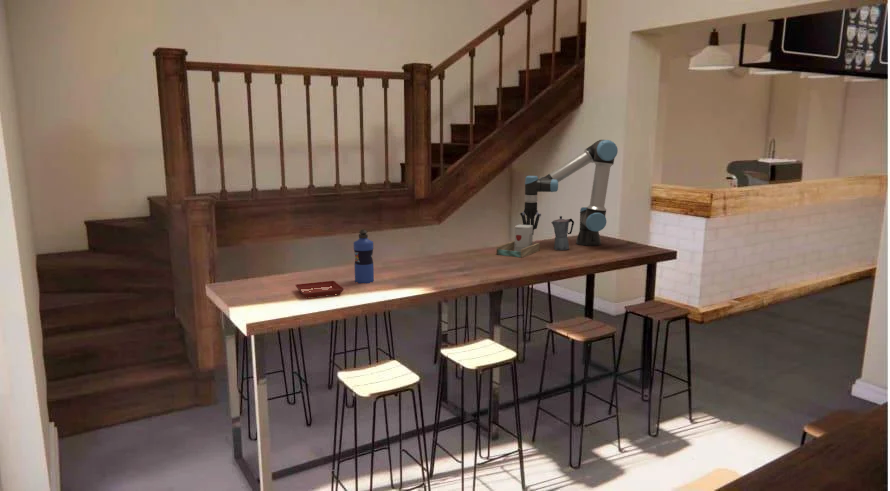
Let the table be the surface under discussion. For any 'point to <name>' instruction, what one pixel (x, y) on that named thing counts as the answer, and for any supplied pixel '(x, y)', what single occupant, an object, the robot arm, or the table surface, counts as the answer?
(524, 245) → the supplement box
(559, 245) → the moka pot
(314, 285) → the plant saucer
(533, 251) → the tray
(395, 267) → the table surface
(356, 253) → the water bottle
